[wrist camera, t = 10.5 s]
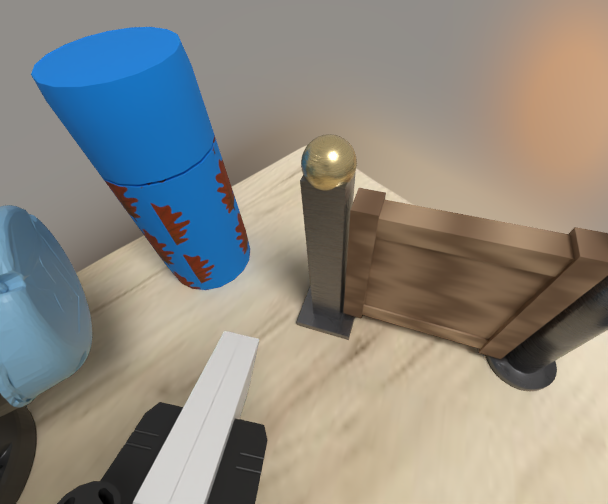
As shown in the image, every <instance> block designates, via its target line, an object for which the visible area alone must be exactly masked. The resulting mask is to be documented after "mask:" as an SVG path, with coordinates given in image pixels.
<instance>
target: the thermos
mask: <svg viewBox="0 0 608 504" xmlns="http://www.w3.org/2000/svg"><path fill="white" fill-rule="evenodd" d="M31 75H32V77H33V79H34V80H35V82H36V84H37V86H38V88H39V89H40V91H41V92H42V95H43V96H44V98H45V100H46V101H47V103H48V104H49V105H50V107H51V108H52V110H53V111H54V112H55V114H56V115H57V116H58V118H59V119H60V120H61V122H62V123H63V124H64V126H65V127H66V129H67V130H68V131H69V133H70V134H71V136H72V137H73V138H74V140H75V141H76V142H77V144H78V145H79V147H80V148H81V149H82V151H83V152H84V153H85V155H86V156H87V157H88V159H89V160H90V162H91V163H92V164H93V166H94V167H95V168H96V170H97V171H98V172H99V174H100V175H101V177H102V178H103V179H104V181H105V182H106V183H107V185H108V186H109V187H110V189H111V190H112V192H113V193H114V194H115V196H116V197H117V199H118V200H119V201H120V202H121V204H122V205H123V207H124V208H125V209H126V211H127V212H128V214H129V215H130V216H131V218H132V219H133V220H134V222H135V223H136V225H137V226H138V227H139V229H140V230H141V231H142V233H143V234H144V235H145V237H146V238H147V240H148V241H149V242H150V244H151V245H152V246H153V248H154V249H155V251H156V252H157V253H158V255H159V256H160V257H161V259H162V260H163V261H164V263H165V264H166V265H167V267H168V268H169V269H170V270H171V271H172V273H173V274H174V275H175V276H176V277H177V278H178V279H179V281H180V282H181V283H182V284H184V285H186V286H188V287H190V288H192V289H201V290H208V289H213V288H218V287H221V286H223V285H225V284H227V283H229V282H231V281H233V280H234V279H235V278H236V277H237V276H238V275H239V274H240V273H241V272H242V271H243V270H244V268H245V267H246V265H247V263H248V261H249V256H250V246H249V242H248V238H247V234H246V230H245V227H244V224H243V221H242V218H241V215H240V212H239V209H238V205H237V202H236V199H235V196H234V193H233V190H232V187H231V184H230V182H229V178H228V175H227V172H226V169H225V166H224V163H223V160H222V157H221V154H220V151H219V148H218V145H217V142H216V139H215V135H214V133H213V129H212V126H211V123H210V120H209V117H208V114H207V111H206V108H205V105H204V102H203V99H202V96H201V93H200V90H199V87H198V84H197V81H196V78H195V75H194V71H193V69H192V66H191V63H190V61H189V59H188V56H187V54H186V52H185V50H184V47H183V46H182V43H181V41H180V39H179V36H178V35H177V34H176V33H174V32H172V31H170V30H167V29H162V28H155V27H134V28H125V29H118V30H112V31H106V32H103V33H99V34H95V35H91V36H87V37H84V38H81V39H79V40H76V41H73V42H71V43H68V44H65V45H63V46H61V47H60V48H58V49H56V50H54V51H52V52H50V53H48V54H46V55H45V56H44V57H43V58H42V59H41V60H39V61H38V62H37V63H36V64H35V65H34V68H33V71H32V73H31Z"/></svg>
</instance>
